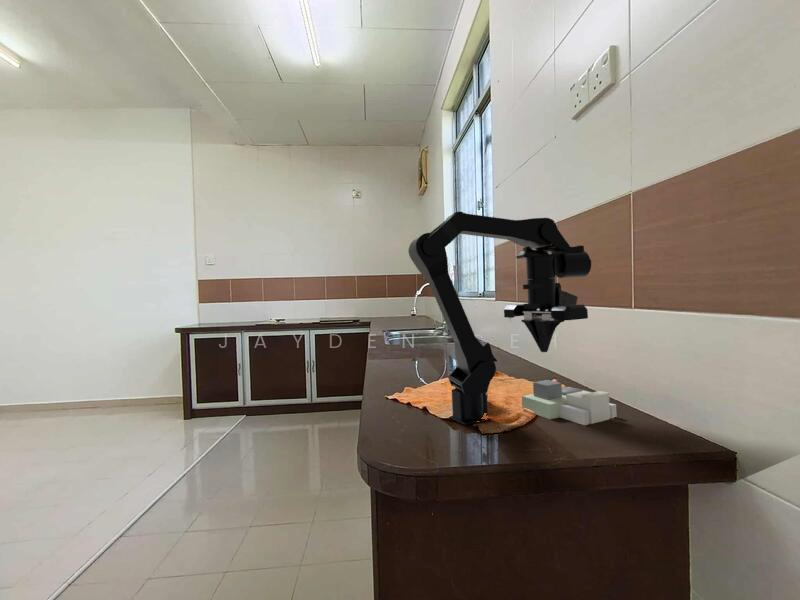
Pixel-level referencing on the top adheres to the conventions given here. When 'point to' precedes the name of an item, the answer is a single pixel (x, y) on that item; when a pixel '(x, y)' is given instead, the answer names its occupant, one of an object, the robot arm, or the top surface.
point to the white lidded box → (591, 404)
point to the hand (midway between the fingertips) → (544, 352)
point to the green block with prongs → (557, 402)
